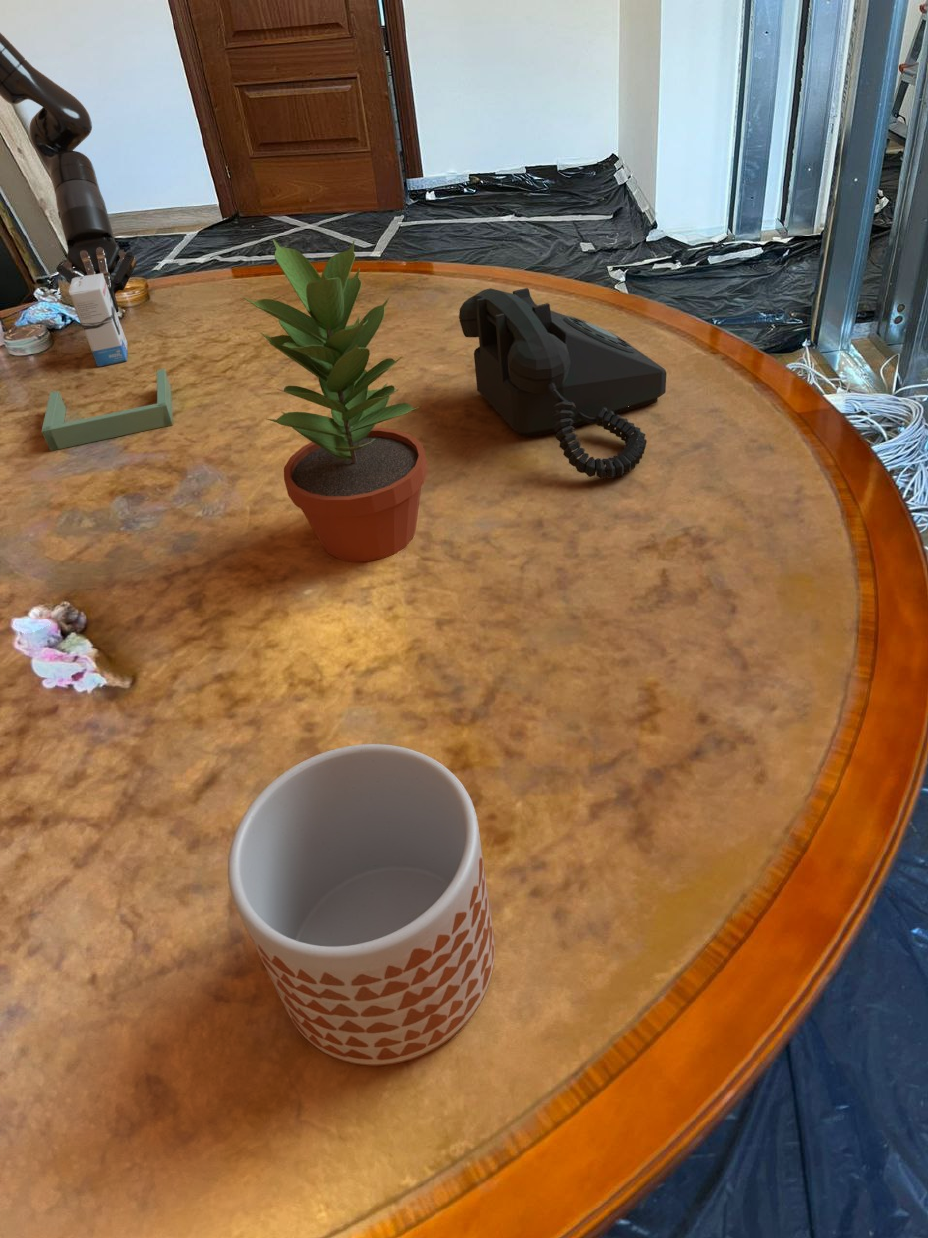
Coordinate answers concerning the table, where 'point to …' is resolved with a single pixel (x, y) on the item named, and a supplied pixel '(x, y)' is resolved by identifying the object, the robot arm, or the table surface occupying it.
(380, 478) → the potted plant
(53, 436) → the bracket
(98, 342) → the ink box
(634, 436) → the rotary telephone
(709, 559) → the table surface
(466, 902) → the planter
